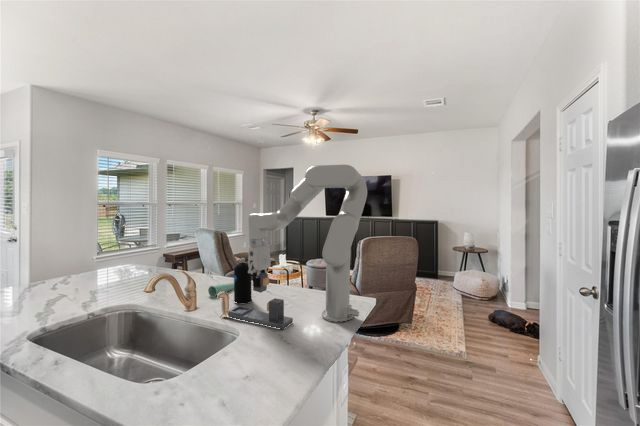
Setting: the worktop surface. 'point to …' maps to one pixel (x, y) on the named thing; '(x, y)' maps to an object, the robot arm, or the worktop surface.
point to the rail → (263, 314)
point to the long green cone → (220, 288)
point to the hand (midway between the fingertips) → (259, 285)
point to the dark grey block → (262, 282)
